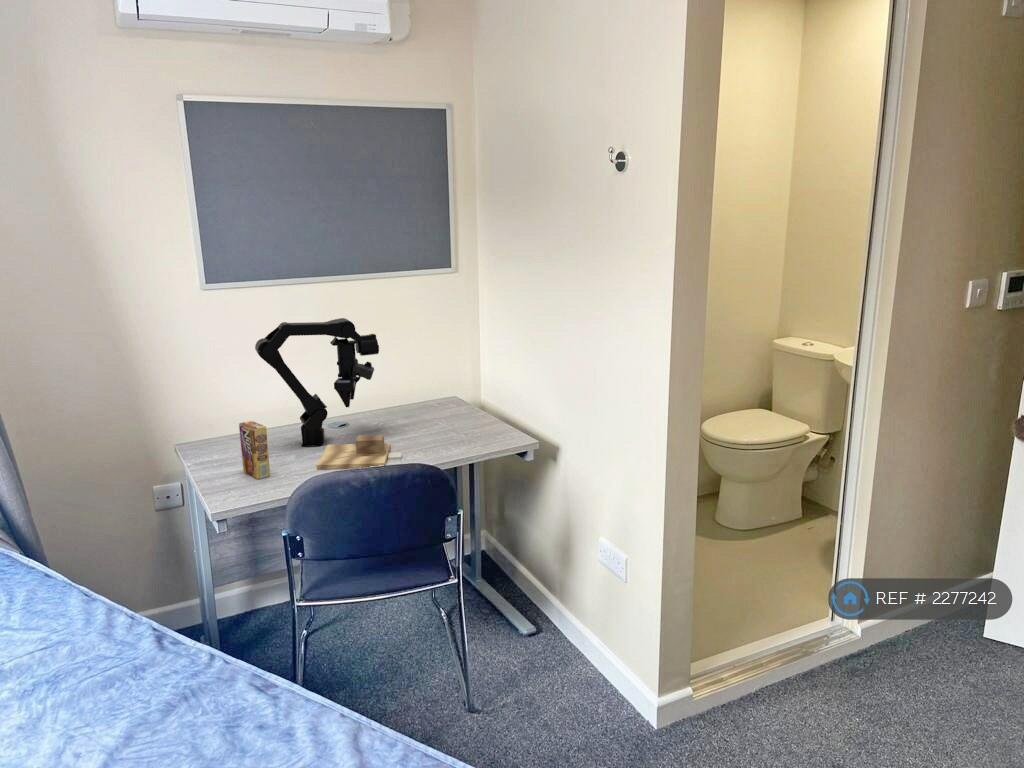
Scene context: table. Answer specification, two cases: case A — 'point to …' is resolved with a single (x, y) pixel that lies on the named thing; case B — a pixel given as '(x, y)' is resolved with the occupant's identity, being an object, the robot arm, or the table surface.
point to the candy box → (254, 449)
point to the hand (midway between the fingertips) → (349, 403)
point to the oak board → (349, 457)
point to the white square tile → (394, 456)
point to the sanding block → (370, 445)
